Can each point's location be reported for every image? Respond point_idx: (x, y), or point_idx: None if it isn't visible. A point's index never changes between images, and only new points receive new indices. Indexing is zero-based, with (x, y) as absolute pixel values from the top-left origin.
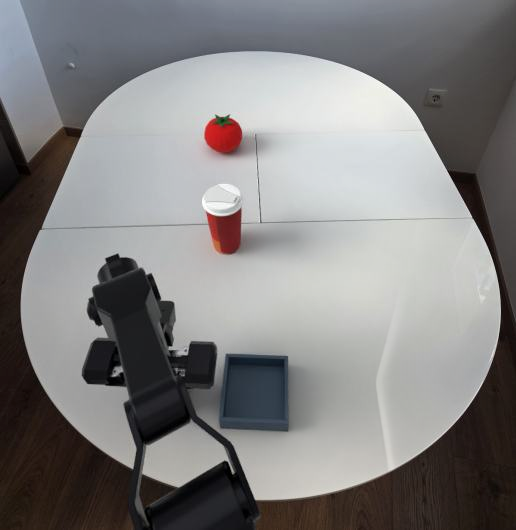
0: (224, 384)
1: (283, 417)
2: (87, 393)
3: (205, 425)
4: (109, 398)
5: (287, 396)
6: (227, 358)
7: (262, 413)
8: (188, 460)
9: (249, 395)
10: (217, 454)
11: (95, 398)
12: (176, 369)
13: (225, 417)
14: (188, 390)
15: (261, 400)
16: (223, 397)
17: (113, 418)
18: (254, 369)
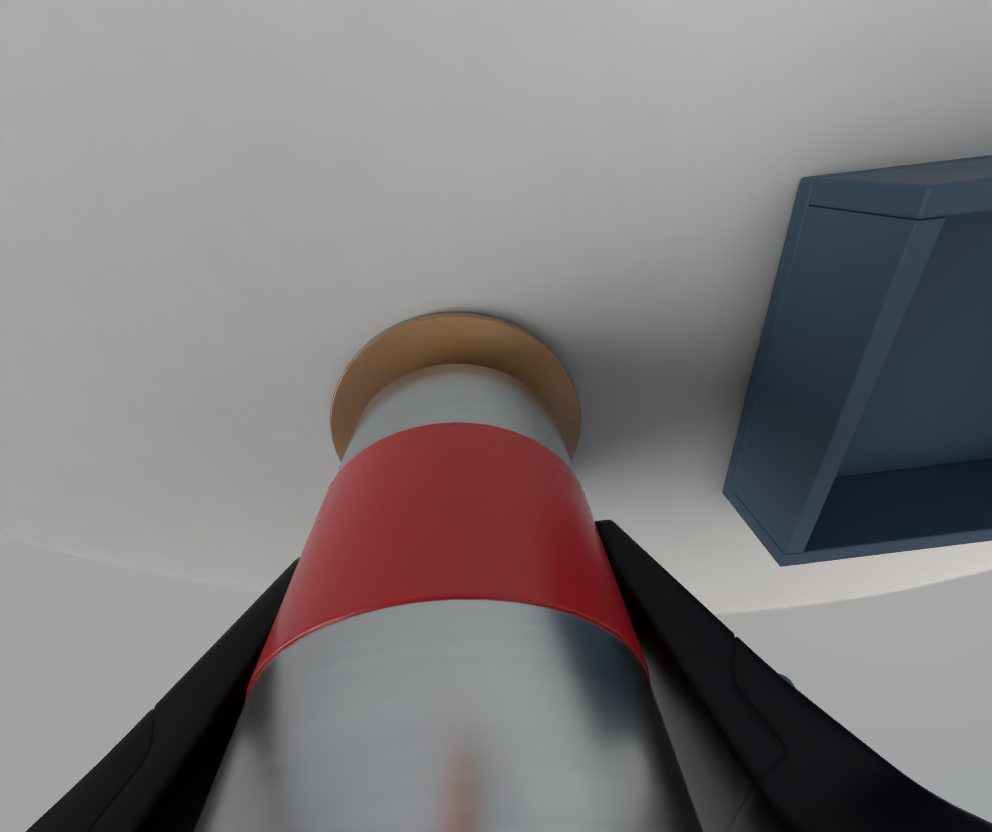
0: (851, 423)
1: None
2: (54, 475)
3: None
4: (183, 475)
5: None
6: (929, 234)
7: (928, 429)
8: None
9: (897, 368)
10: (704, 554)
11: (116, 486)
12: (675, 755)
13: (816, 553)
14: (571, 393)
15: (950, 380)
16: (825, 482)
17: (265, 532)
18: (986, 212)
